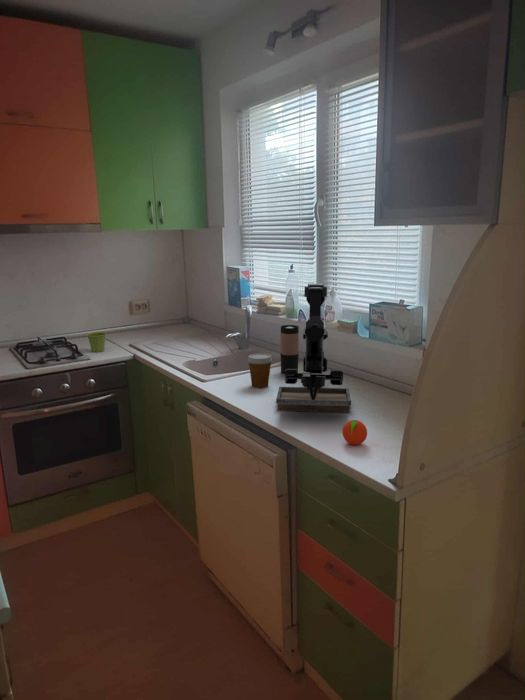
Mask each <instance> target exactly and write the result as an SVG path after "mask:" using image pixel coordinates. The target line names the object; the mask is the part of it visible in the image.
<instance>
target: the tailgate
mask: <svg viewBox="0 0 525 700" xmlns="http://www.w3.org/2000/svg"><path fill="white" fill-rule="evenodd" d="M278 404H294V405H327V406H349V401H336V400H301V399H278Z"/></svg>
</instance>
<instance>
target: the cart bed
mask: <svg viewBox="0 0 525 700" xmlns="http://www.w3.org/2000/svg"><path fill="white" fill-rule="evenodd" d="M313 394H314V388H313ZM276 395H277V396H276V399H275V400H276V402H275V403H276V405H277V411H289V412H291V411H292V412H321V413H324V412H325V413H326V412H327V413H350V409H351V408H350V407H351V406H352V398H351V393H350V388H349V387H345V388H343V387H321V388H320V389H319V391H318V393H317V396H316V398H315V400H336V401H349V406H327V405H294V404H278V399H301V400H311V397H310V394H309V391H308V389H307V387H304V386H279V387H278V391H277V394H276Z"/></svg>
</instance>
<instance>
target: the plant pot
mask: <svg viewBox="0 0 525 700" xmlns="http://www.w3.org/2000/svg"><path fill="white" fill-rule="evenodd" d="M106 335H107V332H103V331H102V332H90V333H88V334H86V337H87V339H88V342H89V346H90V351H91V352H93V353H95V352H96V353H102V352H103V351H105V341H106Z"/></svg>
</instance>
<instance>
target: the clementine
mask: <svg viewBox="0 0 525 700" xmlns="http://www.w3.org/2000/svg"><path fill="white" fill-rule="evenodd" d="M341 434H342V437H343V439H344V441H346V442H347V443H348V445H353V446H357V445H358V446H359V445H360V444H362V443H364V442H365V440H366V439H367V436H368V429H367V427H366V425H365V424H364V423H363V422H362V421H360V420H358V419H352V420H349V421H347V422H346V423H345V424H344V426H343V428H342V433H341Z"/></svg>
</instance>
